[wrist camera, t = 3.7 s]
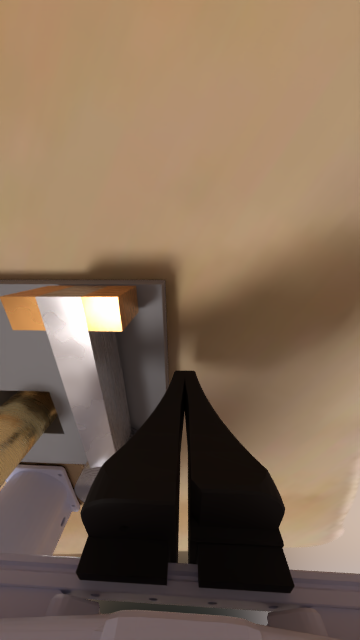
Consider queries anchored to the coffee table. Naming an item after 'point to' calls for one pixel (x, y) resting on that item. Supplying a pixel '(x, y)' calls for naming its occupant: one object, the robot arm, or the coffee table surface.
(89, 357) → the lever
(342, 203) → the coffee table surface
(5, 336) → the crank plate
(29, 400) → the pin
